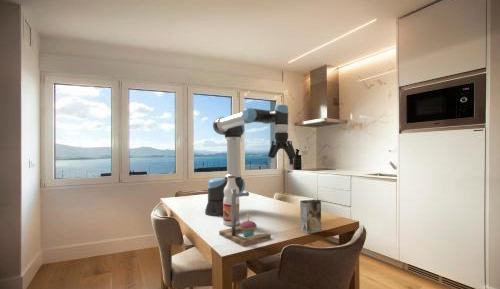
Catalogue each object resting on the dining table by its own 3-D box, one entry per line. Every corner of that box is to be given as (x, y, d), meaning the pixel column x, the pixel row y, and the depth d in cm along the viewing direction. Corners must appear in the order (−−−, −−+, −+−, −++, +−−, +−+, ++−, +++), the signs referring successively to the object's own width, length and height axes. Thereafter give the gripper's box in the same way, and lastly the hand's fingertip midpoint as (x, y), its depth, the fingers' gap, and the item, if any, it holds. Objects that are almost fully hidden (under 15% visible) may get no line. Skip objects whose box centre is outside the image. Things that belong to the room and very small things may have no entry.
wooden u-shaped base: (219, 234, 137) (219, 230, 137) (246, 228, 148) (246, 225, 148) (242, 246, 122) (242, 241, 122) (270, 238, 132) (270, 234, 132)
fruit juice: (239, 226, 153) (239, 176, 153) (222, 226, 153) (222, 176, 153) (239, 221, 162) (239, 174, 162) (224, 221, 162) (224, 174, 163)
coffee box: (314, 228, 149) (314, 199, 149) (321, 231, 143) (321, 201, 143) (300, 230, 145) (300, 200, 145) (307, 233, 139) (307, 202, 139)
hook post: (230, 234, 131) (230, 189, 131) (247, 231, 137) (247, 187, 137) (233, 236, 129) (233, 189, 130) (249, 232, 135) (250, 188, 136)
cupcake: (240, 233, 140) (239, 209, 141) (256, 232, 141) (256, 209, 141) (240, 238, 132) (239, 213, 132) (257, 238, 132) (257, 213, 132)
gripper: (302, 131, 146) (302, 171, 146) (271, 133, 166) (271, 168, 166) (293, 131, 141) (293, 171, 141) (262, 133, 161) (262, 168, 161)
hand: (281, 169), depth 153 cm, fingers open, 13 cm apart
